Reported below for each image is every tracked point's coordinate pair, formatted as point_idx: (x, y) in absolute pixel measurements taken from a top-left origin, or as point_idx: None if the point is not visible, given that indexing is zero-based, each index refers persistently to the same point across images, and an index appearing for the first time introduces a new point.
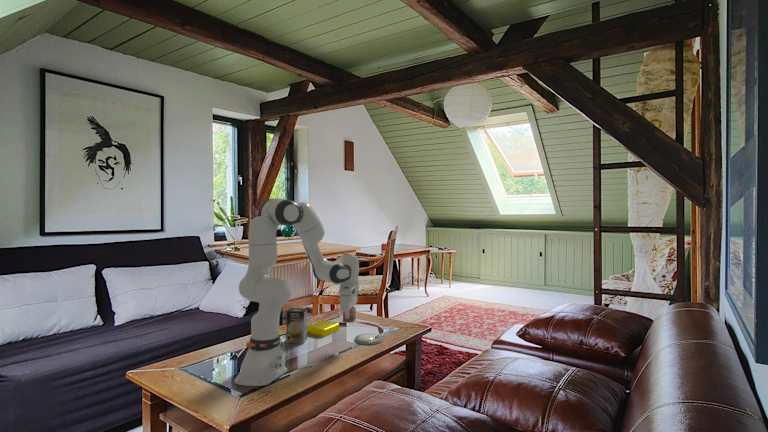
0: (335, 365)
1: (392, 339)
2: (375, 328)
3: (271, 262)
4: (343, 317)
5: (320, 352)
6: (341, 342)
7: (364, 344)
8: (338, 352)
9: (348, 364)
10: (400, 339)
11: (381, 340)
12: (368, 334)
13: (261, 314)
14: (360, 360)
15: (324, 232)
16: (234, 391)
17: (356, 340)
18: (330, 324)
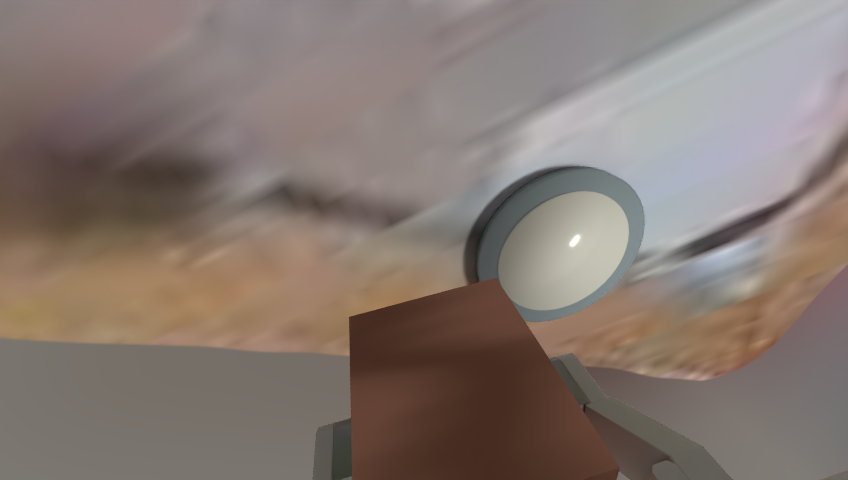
0: (52, 278)
1: (580, 336)
2: (767, 193)
3: None
4: (351, 381)
5: (180, 37)
6: (478, 103)
7: (476, 262)
8: (273, 184)
9: (134, 328)
10: (583, 360)
11: (541, 319)
12: (624, 229)
13: None
14: (235, 348)
15: None
16: None
17: (507, 209)
18: None
